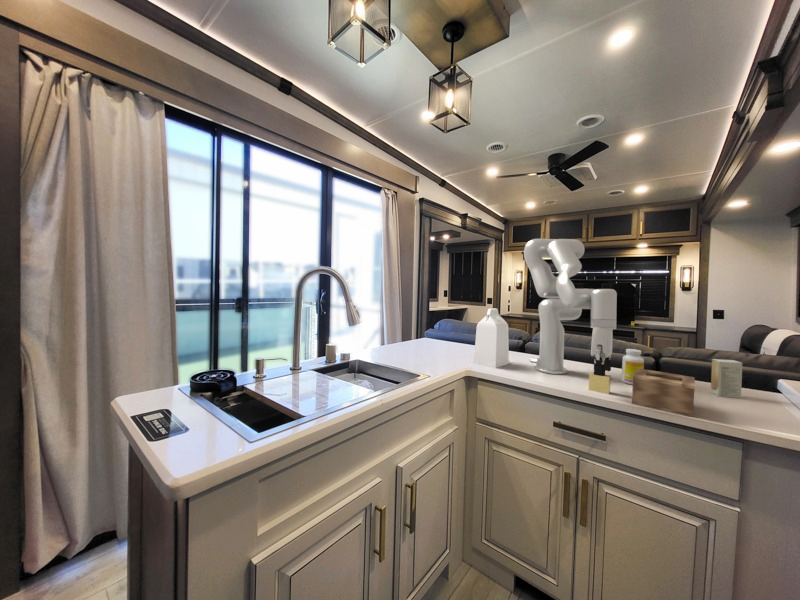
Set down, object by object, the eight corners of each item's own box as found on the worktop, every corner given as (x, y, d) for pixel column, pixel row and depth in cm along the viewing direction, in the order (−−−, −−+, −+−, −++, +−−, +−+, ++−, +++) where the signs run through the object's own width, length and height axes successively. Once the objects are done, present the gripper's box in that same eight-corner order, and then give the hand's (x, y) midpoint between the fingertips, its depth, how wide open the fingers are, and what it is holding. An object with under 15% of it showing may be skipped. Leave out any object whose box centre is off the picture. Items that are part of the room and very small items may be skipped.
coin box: (631, 403, 97) (633, 375, 96) (636, 393, 106) (638, 368, 105) (692, 417, 87) (694, 386, 87) (692, 405, 96) (694, 377, 95)
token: (588, 389, 109) (589, 373, 109) (590, 388, 111) (591, 371, 111) (608, 394, 105) (609, 377, 105) (610, 392, 107) (610, 375, 107)
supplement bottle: (646, 386, 114) (648, 352, 113) (626, 385, 115) (628, 351, 114) (636, 380, 120) (638, 348, 120) (617, 379, 122) (619, 347, 121)
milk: (487, 359, 153) (488, 307, 151) (508, 363, 144) (510, 309, 143) (473, 363, 145) (475, 308, 143) (495, 368, 136) (497, 310, 135)
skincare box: (732, 394, 106) (735, 359, 106) (741, 398, 102) (744, 362, 102) (709, 392, 109) (711, 358, 108) (717, 396, 104) (719, 361, 104)
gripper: (596, 322, 115) (595, 367, 116) (584, 325, 103) (583, 375, 103) (620, 323, 110) (619, 370, 110) (611, 326, 98) (610, 379, 98)
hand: (602, 372), depth 107 cm, fingers open, 9 cm apart
